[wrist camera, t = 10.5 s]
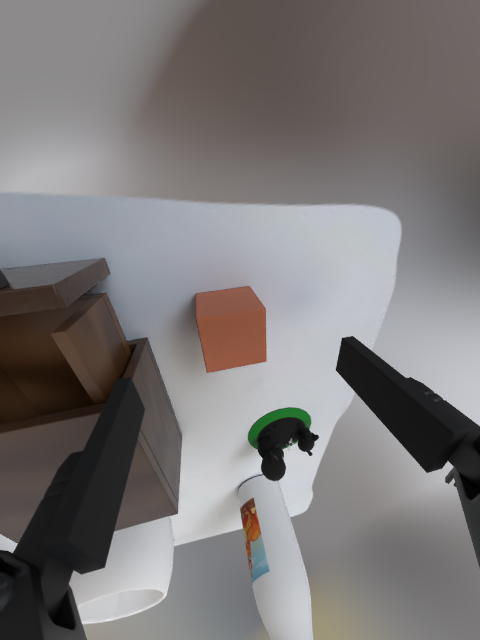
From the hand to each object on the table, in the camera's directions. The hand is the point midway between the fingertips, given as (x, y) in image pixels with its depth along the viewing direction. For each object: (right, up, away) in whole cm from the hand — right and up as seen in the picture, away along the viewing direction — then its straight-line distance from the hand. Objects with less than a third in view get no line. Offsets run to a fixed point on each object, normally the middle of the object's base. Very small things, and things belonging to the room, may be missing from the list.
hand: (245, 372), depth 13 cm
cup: (-17, -27, +20) cm, 38 cm away
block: (-2, +4, +7) cm, 8 cm away
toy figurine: (+6, -13, +18) cm, 23 cm away
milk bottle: (+3, -27, +25) cm, 37 cm away
